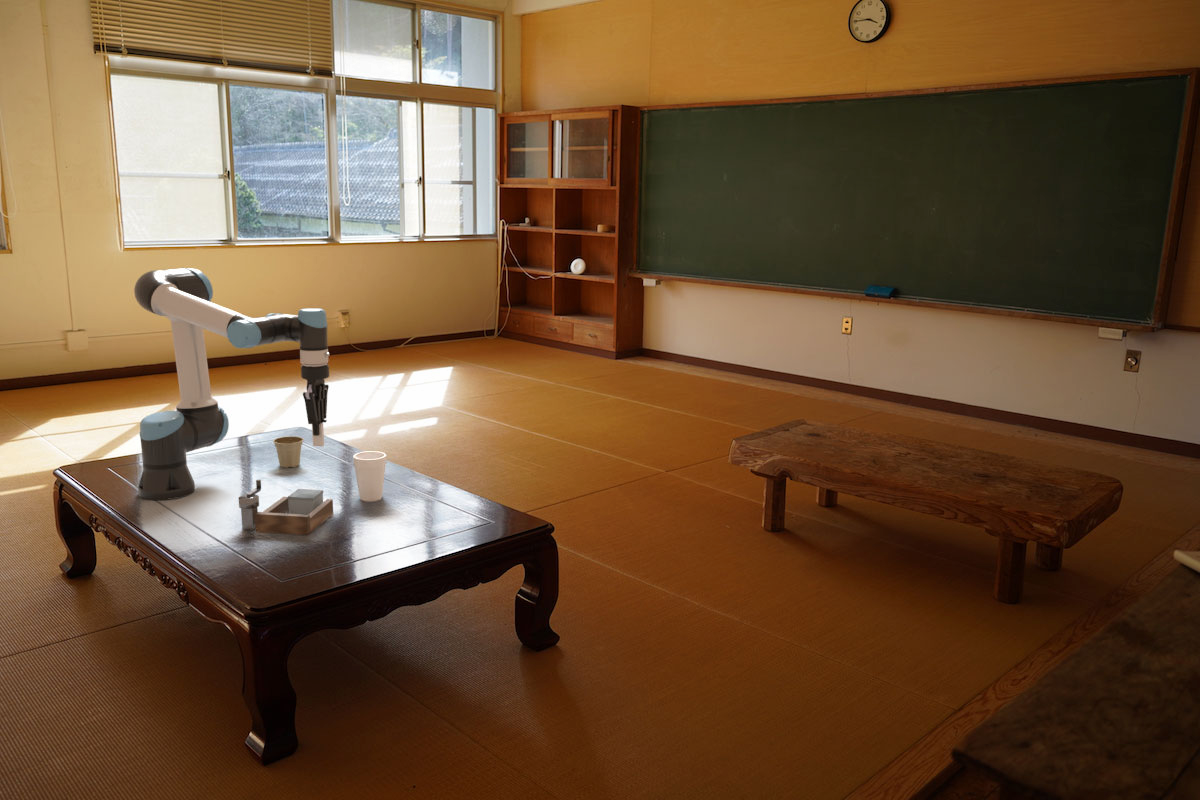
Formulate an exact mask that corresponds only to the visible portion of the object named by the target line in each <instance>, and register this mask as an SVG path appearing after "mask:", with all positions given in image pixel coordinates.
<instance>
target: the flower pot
mask: <svg viewBox="0 0 1200 800" xmlns="http://www.w3.org/2000/svg"><path fill="white" fill-rule="evenodd" d="M272 442H273V444H274V447H275V449H276V453H277V459H278V463H279V467H281V468H286V469H287V468H296V467H298V466H299V465H300V463H301V451H302V446H303V442H304V438H303V437H300V436H293V435H290V436H280V437H276V438H275V439H273V440H272Z"/></svg>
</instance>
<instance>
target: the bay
mask: <svg viewBox="0 0 1200 800" xmlns="http://www.w3.org/2000/svg"><path fill="white" fill-rule="evenodd" d="M333 502H334V500H333V499H332V498H330V499H329V498H326V499H325V500H323V503H322V504H321V505H319V506H318V507H317V508H316V509H314V510H313V511H312V512H311V513H310V514H308V515H303V514H289V505H288V496H282V497H281V498H280V499H279V500H277V501H276V502H274V503H273V504H271V505H270V506H269V507H267V508H266V509H264V510H263V511H258V512H257V513H255V529H254V530H255V533H264V534H283V535H284V534H285V535H287V534H288V535H301V536H302V535H303V536H308V535H310V534H311V533H312V532H313V531H315V528H316V529H317V528H318V527H319V526H321V524H323V521H324V520H325V519H326V518H327V519H328V518H329V517H330V516H332V515H333V514H334V503H333ZM332 513H333V514H332ZM327 519H326V520H327ZM326 520H325V521H326ZM325 521H324V522H325Z"/></svg>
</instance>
